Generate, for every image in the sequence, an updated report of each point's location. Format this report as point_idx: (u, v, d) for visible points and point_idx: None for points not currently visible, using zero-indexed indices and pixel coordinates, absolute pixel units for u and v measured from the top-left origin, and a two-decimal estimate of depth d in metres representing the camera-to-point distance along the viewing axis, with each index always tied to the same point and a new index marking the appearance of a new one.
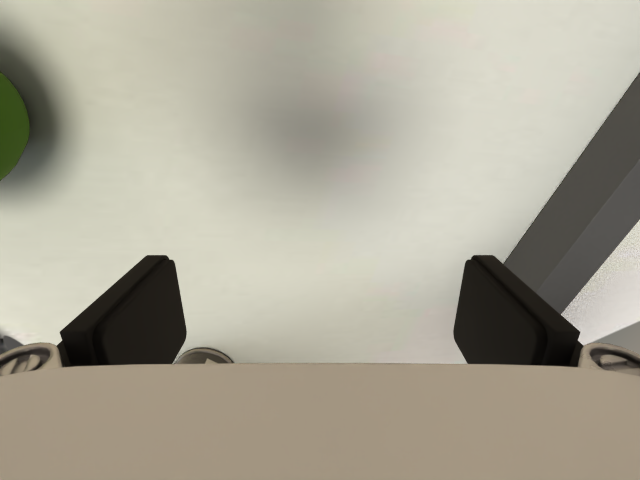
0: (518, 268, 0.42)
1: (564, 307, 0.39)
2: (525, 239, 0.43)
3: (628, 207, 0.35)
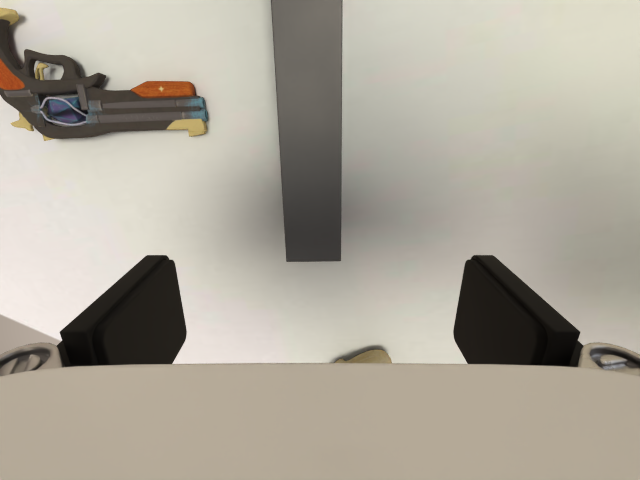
0: None
1: None
2: None
3: None
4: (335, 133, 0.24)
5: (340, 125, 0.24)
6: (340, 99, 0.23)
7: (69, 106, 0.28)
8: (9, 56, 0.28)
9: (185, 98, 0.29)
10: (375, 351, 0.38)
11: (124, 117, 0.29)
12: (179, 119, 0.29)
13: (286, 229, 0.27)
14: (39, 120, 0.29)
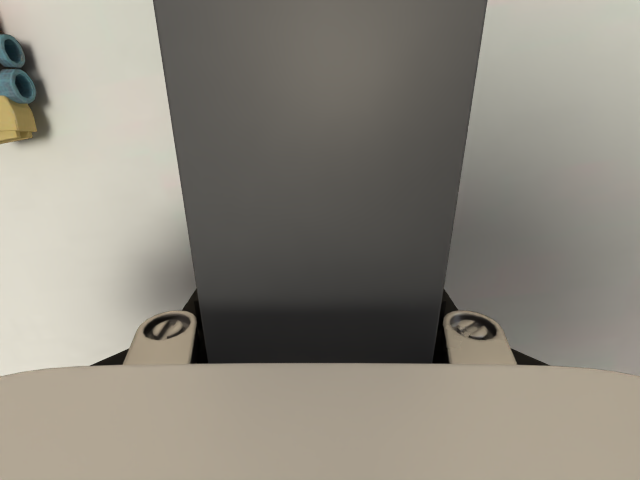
0: None
1: None
2: None
3: None
4: (439, 152, 0.05)
5: (465, 117, 0.05)
6: None
7: None
8: None
9: None
10: None
11: None
12: None
13: None
14: None
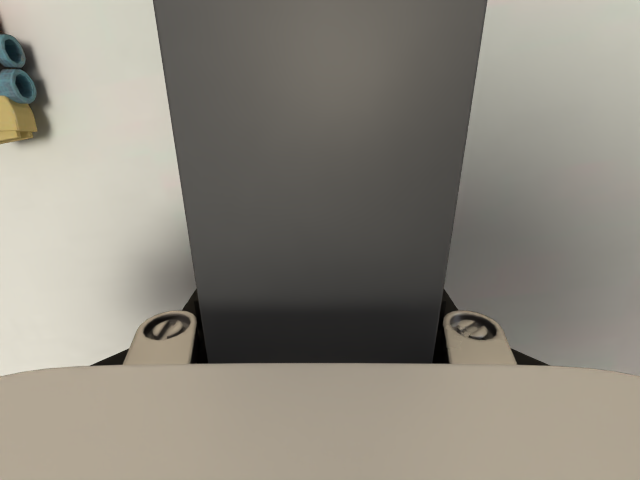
0: None
1: None
2: None
3: None
4: (439, 152, 0.05)
5: (465, 117, 0.05)
6: None
7: None
8: None
9: None
10: None
11: None
12: None
13: None
14: None
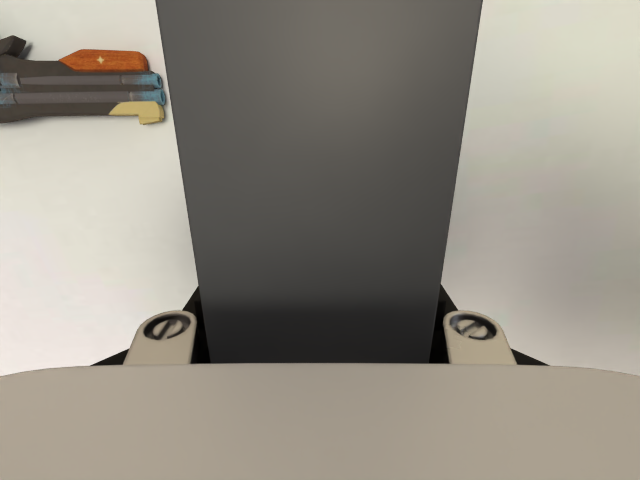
0: None
1: None
2: None
3: None
4: (435, 154, 0.05)
5: (460, 119, 0.05)
6: None
7: None
8: None
9: (134, 73, 0.22)
10: None
11: (50, 96, 0.22)
12: (126, 101, 0.22)
13: None
14: None
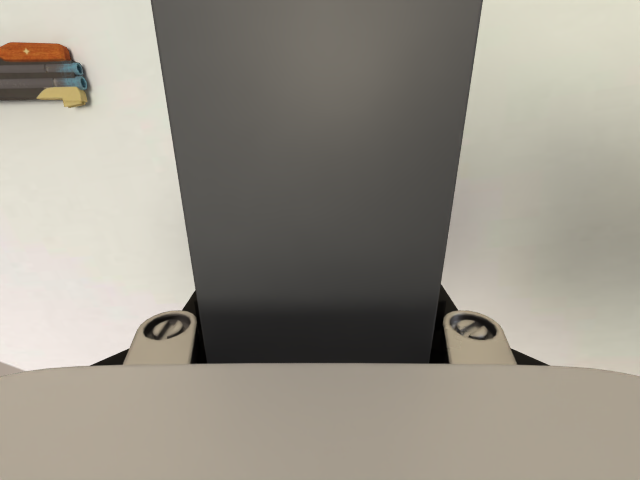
0: None
1: None
2: None
3: None
4: (435, 153, 0.05)
5: (460, 118, 0.05)
6: None
7: None
8: None
9: (56, 63, 0.26)
10: None
11: None
12: (51, 87, 0.26)
13: None
14: None
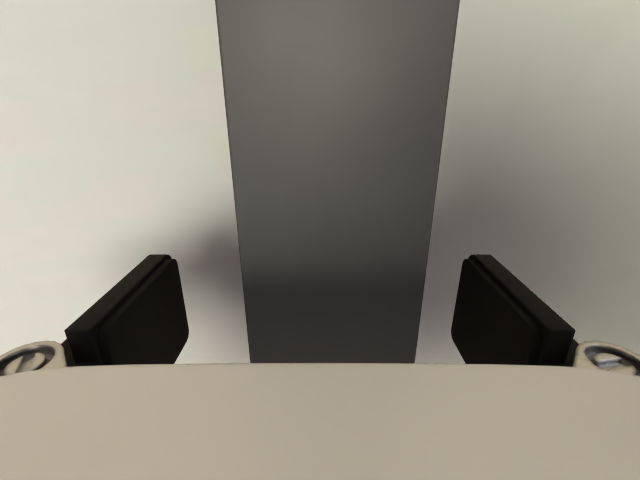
0: None
1: None
2: None
3: None
4: (425, 125, 0.07)
5: (444, 98, 0.07)
6: None
7: None
8: None
9: None
10: None
11: None
12: None
13: None
14: None
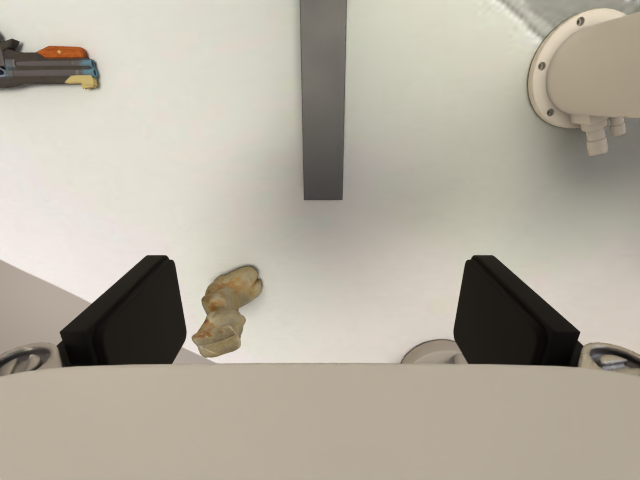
0: None
1: None
2: None
3: None
4: (340, 107, 0.36)
5: (343, 101, 0.36)
6: (344, 84, 0.35)
7: None
8: None
9: (78, 59, 0.39)
10: (245, 267, 0.49)
11: (32, 72, 0.39)
12: (74, 75, 0.40)
13: (304, 175, 0.38)
14: None
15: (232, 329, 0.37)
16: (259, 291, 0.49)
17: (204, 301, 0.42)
